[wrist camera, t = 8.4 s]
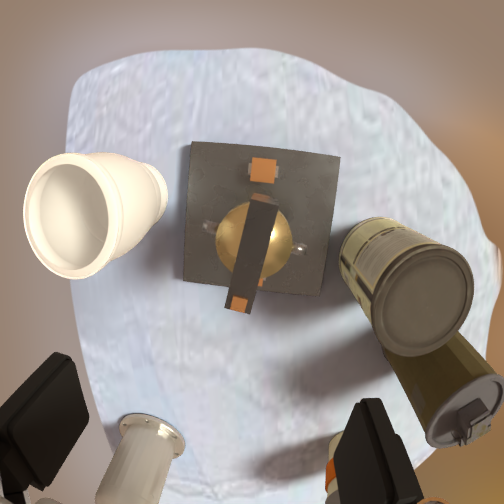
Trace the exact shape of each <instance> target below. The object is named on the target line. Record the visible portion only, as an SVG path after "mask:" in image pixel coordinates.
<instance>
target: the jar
mask: <svg viewBox="0 0 504 504" xmlns="http://www.w3.org/2000/svg"><path fill="white" fill-rule="evenodd" d="M167 201H168V191H167V186H166V183H165V181H164V179H163V177H162V175H161V174H160V173H159V172H158V171H157V170H156V169H155V168H154V167H152V166H151V165H149V164H146V163H142V162H138V161H135V160H133V159H130V158H128V157H125V156H122V155H119V154H114V153H106V152H100V153H90V154H85V155H84V154H80V153H65V154H60V155H57V156H54V157H52V158H50V159H49V160H47V161H46V162H44V163H43V164H42V165H41V166H40V167H39V168H38V170H37V171H36V172H35V174H34V175H33V177H32V179H31V181H30V183H29V185H28V188H27V191H26V195H25V199H24V208H23V215H24V216H23V217H24V226H25V230H26V235H27V238H28V241H29V243H30V245H31V247H32V249H33V251H34V253H35V255H36V256H37V257H38V259H39V260H40V261H41V262H42V264H43V265H44V266H45V267H47V268H48V269H49V270H50V271H52V272H53V273H55V274H57V275H59V276H61V277H64V278H68V279H82V278H86V277H89V276H91V275H93V274H95V273H96V272H98V271H100V270H101V269H102V268H103V267H105V266H106V265H107V264H108V262H110V261H112V260H114V259H116V258H118V257H120V256H122V255H124V254H125V253H127V252H128V251H130V250H131V249H132V248H133V247H135V246H136V245H137V244H138V243H139V242H140V241H141V240H142V238H143V237H144V236H145V235H146V233H147V232H148V231H149V230H150V228H151V227H152V226H153V225H154V224H155V223H157V222H158V220H159V219H160V218H161V217H162V215H163V213H164V211H165V209H166V206H167Z"/></svg>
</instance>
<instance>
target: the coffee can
mask: <svg viewBox="0 0 504 504" xmlns="http://www.w3.org/2000/svg"><path fill="white" fill-rule="evenodd" d="M339 269H340V273H341V275H342V278H343V280H344V281H345V283H346V284H347V285H348V286H349V288H350V290H351V291H352V293H353V295H354V296H355V298H356V300H357V301H358V303H359V304H360V306H361V308H362V309H363V311H364V313H365V315H366V316H367V318H368V320H369V321H370V323H371V325H372V327H373V330H374V332H375V335H376V337H377V339H378V341H379V342H380V343H381V345H382V346H383V347H384V348H385V349H387V350H388V351H390V352H392V353H394V354H396V355H399V356H404V357H414V356H420V355H424V354H427V353H430V352H432V351H434V350H436V349H438V348H439V347H441V346H442V345H444V344H445V343H446V342H448V341H449V340H450V339H451V338H452V337H453V336H454V335H455V334H456V332H457V331H458V330H459V329H460V327H461V326H462V324H463V323H464V321H465V319H466V317H467V315H468V313H469V311H470V308H471V305H472V300H473V295H474V279H473V274H472V271H471V268H470V266H469V264H468V262H467V261H466V259H465V258H464V257H463V256H462V255H461V254H460V253H459V252H457V251H456V250H454V249H453V248H450V247H448V246H445V245H442V244H440V243H438V242H436V241H434V240H432V239H430V238H428V237H426V236H424V235H422V234H420V233H418V232H416V231H414V230H412V229H410V228H408V227H406V226H404V225H402V224H400V223H399V222H397V221H395V220H393V219H390V218H386V217H374V218H370V219H367V220H365V221H363V222H361V223H359V224H358V225H356V226H355V227H354V228H353V229H352V230H351V231H350V232H349V234H348V235H347V236H346V238H345V240H344V241H343V243H342V246H341V249H340V253H339Z"/></svg>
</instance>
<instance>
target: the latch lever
mask: <svg viewBox="0 0 504 504" xmlns="http://www.w3.org/2000/svg"><path fill="white" fill-rule="evenodd" d="M278 209H279V203H278V199H277V198H273V197H270V196H266V195H262V194H258V193H254V194H253V196H252V197H251V200H250V201H249V202H245V203H242V204H240V205H238V206H236V207H234V208H233V209H232V210H231V211H230V212H229V213H228V214H227V215H226V216H225V218H224V219H223V220H222V222H221V223H218V222H214V221H210V220H206V219H205V220H204V222H203V226H202V231H204V232H208V233H212V234H216V250H217V253H218V256H219V258H220V260H221V261H222V263H223V264H224V265H225V267H226V268H227V269H229V270H230V271H231V272H232V273H233V274H232V278H231V282H230V286H229V291H228V295H227V299H226V303H225V307H224V308H227V309H231V310H235V311H239V312H243V313H247V314H250V312H251V309H252V305H253V301H254V298H255V294H256V290H257V287H258V283H259V279H262V278H266V277H269V276H271V275H273V274H275V273H276V272H278V271H279V270H280V269H281V268H282V267H283V266H284V265H285V264H286V262H287V260H288V259H289V257H290V254H291V253H292V254H296V255H300V256H304V257H305V255H306V252H307V245H305V244H301V243H297V242H293V241H292V234H291V231H290V227H289V224H288V222H287V220H286V218H285V217H284V215H283V214H282V213H281V212H280V211H279V210H278Z"/></svg>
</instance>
